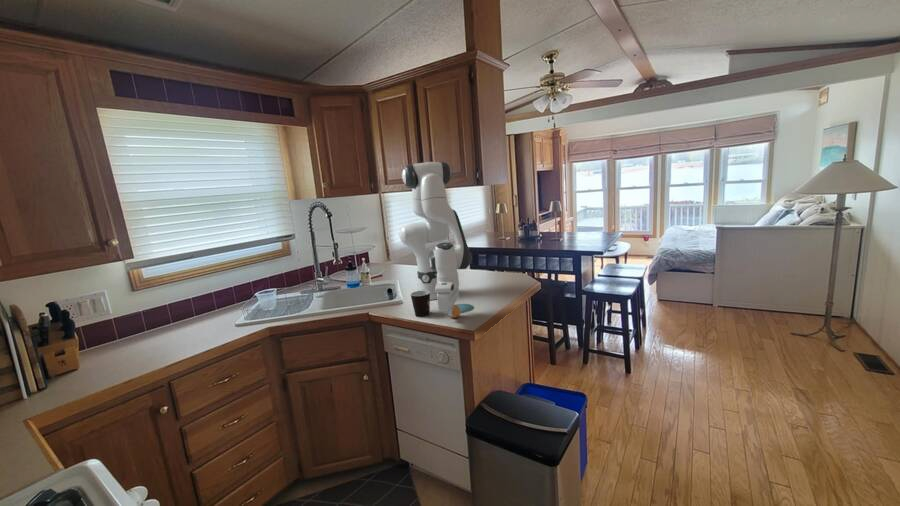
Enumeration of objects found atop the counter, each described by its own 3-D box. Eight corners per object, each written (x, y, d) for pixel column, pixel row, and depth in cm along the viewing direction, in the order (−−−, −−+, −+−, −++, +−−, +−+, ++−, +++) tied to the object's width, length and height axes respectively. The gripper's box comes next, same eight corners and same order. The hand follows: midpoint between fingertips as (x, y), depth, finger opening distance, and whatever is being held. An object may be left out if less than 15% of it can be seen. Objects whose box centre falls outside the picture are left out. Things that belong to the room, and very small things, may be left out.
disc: (451, 304, 175) (451, 303, 175) (475, 304, 172) (475, 303, 172) (444, 312, 163) (444, 312, 163) (470, 312, 160) (470, 312, 160)
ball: (447, 319, 154) (449, 314, 160) (460, 319, 153) (462, 314, 159) (445, 307, 153) (448, 302, 159) (458, 307, 152) (460, 302, 157)
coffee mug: (423, 319, 158) (421, 296, 156) (408, 316, 163) (406, 294, 161) (440, 310, 167) (438, 289, 165) (425, 308, 172) (423, 288, 170)
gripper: (447, 276, 160) (450, 306, 163) (433, 289, 141) (436, 323, 143) (461, 276, 159) (463, 306, 161) (449, 289, 139) (452, 324, 142)
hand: (451, 314), depth 152 cm, fingers closed
